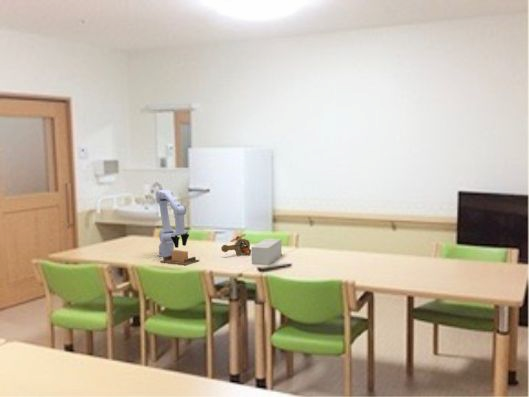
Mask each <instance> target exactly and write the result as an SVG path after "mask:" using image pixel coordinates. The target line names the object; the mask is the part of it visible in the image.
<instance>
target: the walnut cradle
mask: <svg viewBox="0 0 529 397" xmlns="http://www.w3.org/2000/svg"><path fill="white" fill-rule="evenodd" d="M198 262H200V259H197V258H196V256H191V257H188V259H185V260H184V262H181V261H173V260H172V255H170V256H167V257H163V260H160V261H159V263H162V264H169V265H178V266H185V267H186V266H189V265H191V264H194V263H198Z"/></svg>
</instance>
